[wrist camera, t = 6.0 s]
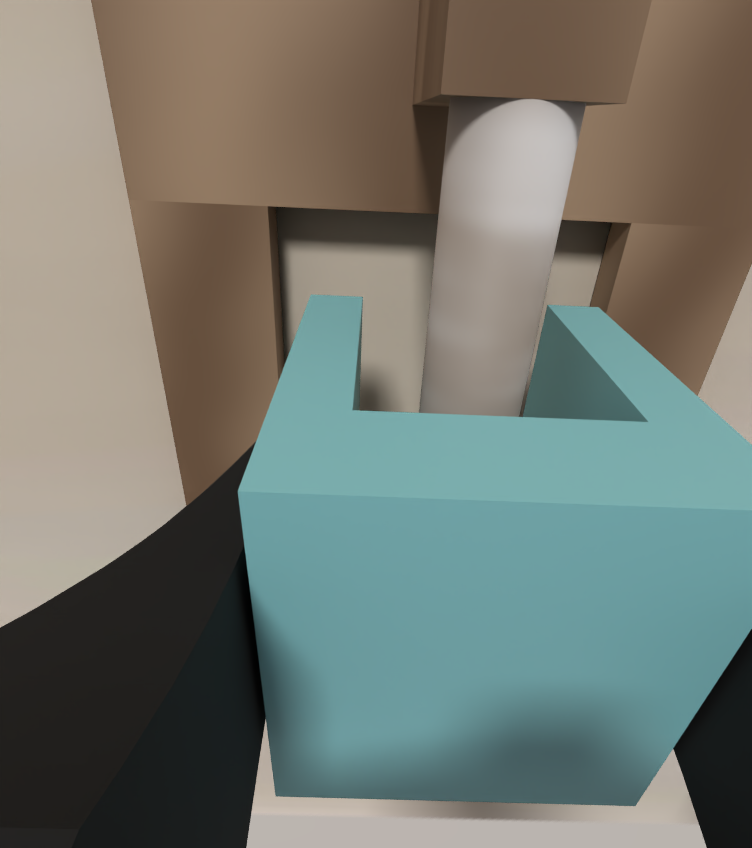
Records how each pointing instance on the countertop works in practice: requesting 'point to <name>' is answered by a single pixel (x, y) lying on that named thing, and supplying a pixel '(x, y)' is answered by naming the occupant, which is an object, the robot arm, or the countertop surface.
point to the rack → (428, 177)
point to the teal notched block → (492, 574)
